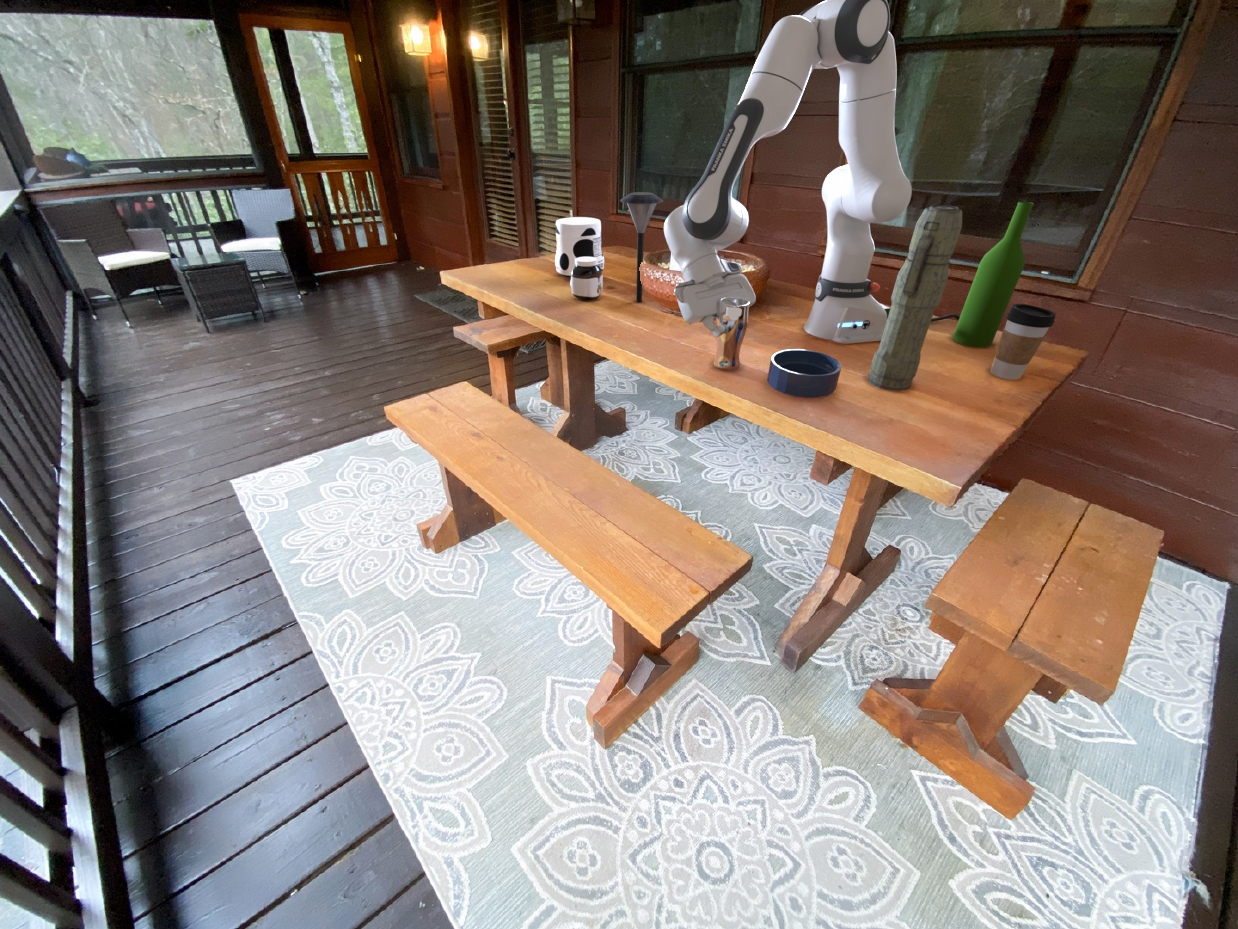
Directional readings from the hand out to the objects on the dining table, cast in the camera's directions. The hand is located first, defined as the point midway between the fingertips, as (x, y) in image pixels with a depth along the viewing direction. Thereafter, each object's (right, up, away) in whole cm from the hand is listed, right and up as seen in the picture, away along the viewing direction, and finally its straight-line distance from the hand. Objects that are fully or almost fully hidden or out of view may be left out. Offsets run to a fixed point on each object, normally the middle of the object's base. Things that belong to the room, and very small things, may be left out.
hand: (732, 331), depth 118 cm
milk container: (-39, +38, +71) cm, 90 cm away
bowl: (+14, -13, -4) cm, 19 cm away
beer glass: (0, -7, +5) cm, 9 cm away
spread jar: (-36, +24, +50) cm, 67 cm away
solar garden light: (-19, +21, +46) cm, 54 cm away
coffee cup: (+62, -9, +2) cm, 63 cm away
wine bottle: (+66, +2, +19) cm, 69 cm away
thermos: (+34, -12, -2) cm, 36 cm away
